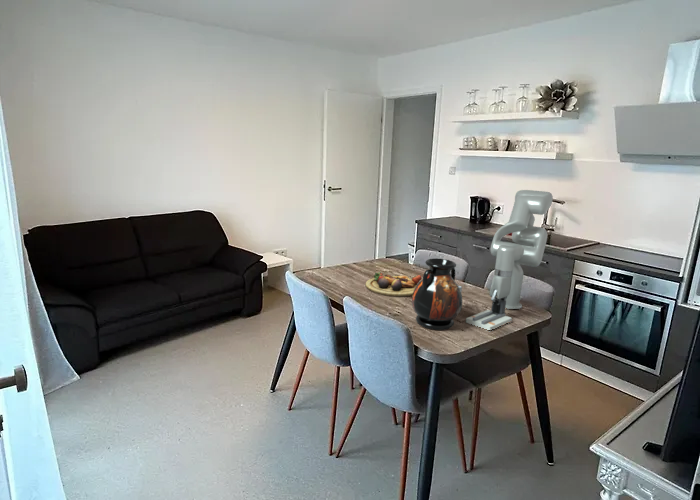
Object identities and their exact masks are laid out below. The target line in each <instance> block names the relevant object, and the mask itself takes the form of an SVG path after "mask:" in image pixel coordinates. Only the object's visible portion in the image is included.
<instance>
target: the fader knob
mask: <svg viewBox="0 0 700 500" xmlns="http://www.w3.org/2000/svg"><path fill="white" fill-rule="evenodd" d="M496 300H497V301H498V299H496ZM491 302H492V303H491V310H490V311H492V310H493V301H492V300H491ZM499 305H500V311H499V313H495V312H494V314H495V315H498V314H503V313H506V309H505V307H506V301H504V300H500V304H499Z"/></svg>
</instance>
